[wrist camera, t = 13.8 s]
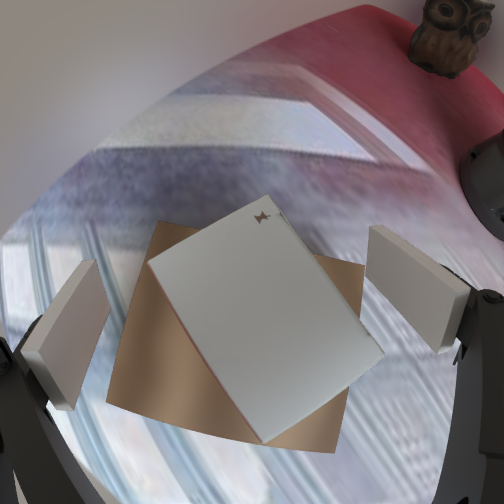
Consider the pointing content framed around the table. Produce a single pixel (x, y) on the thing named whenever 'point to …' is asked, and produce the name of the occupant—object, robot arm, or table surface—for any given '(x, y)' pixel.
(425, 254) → the robot arm
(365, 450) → the table surface
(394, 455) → the table surface
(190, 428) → the walnut block
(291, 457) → the table surface
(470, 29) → the owl
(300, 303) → the small box
